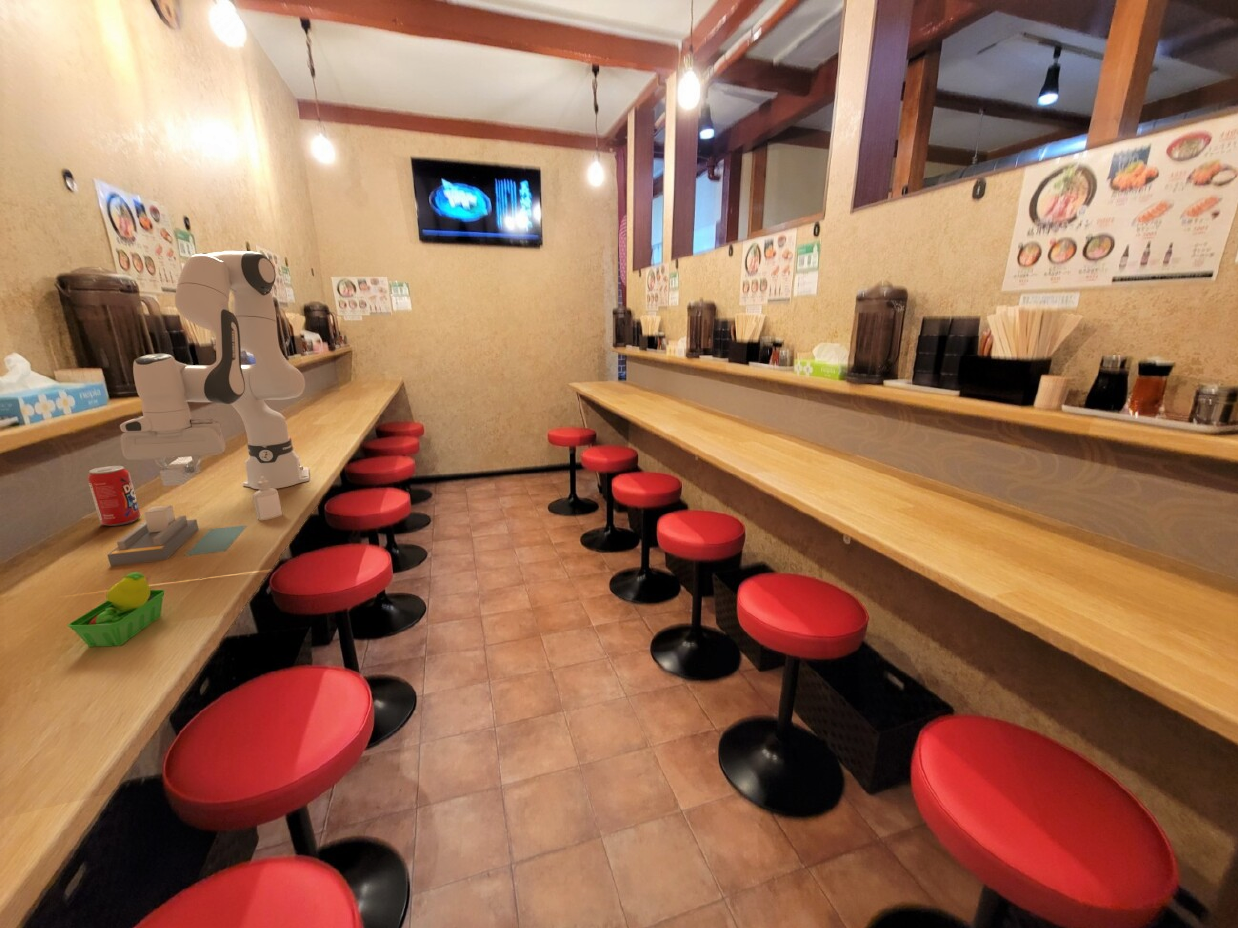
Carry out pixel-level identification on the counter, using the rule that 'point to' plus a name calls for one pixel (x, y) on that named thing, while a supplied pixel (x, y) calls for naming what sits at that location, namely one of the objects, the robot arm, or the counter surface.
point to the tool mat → (216, 540)
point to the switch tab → (159, 518)
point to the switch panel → (152, 542)
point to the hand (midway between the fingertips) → (182, 472)
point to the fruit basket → (120, 613)
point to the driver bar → (178, 471)
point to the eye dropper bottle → (266, 501)
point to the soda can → (113, 495)
